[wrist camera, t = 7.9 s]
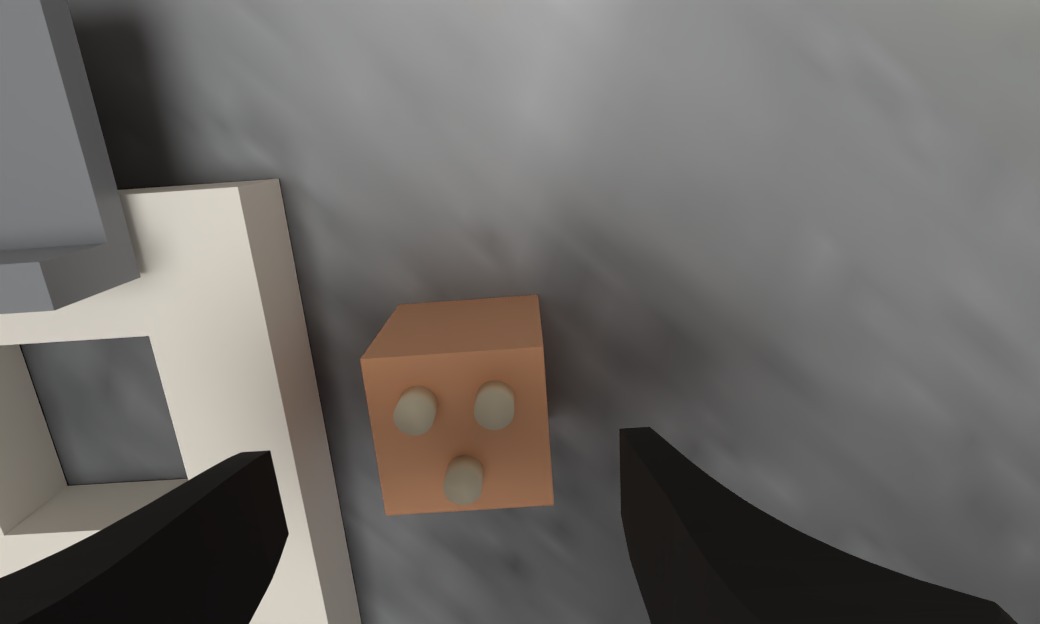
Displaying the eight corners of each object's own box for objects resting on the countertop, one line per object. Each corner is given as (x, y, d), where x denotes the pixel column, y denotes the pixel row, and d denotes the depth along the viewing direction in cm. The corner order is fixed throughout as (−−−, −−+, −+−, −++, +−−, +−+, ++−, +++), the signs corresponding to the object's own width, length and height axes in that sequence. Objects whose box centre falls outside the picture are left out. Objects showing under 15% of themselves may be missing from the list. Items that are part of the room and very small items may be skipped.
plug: (546, 419, 19) (555, 522, 14) (416, 428, 19) (379, 533, 14) (537, 294, 18) (544, 357, 13) (399, 303, 18) (351, 371, 13)
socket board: (362, 628, 21) (342, 692, 19) (38, 646, 21) (-23, 710, 19) (278, 178, 16) (237, 186, 14) (-137, 207, 17) (-247, 220, 14)
